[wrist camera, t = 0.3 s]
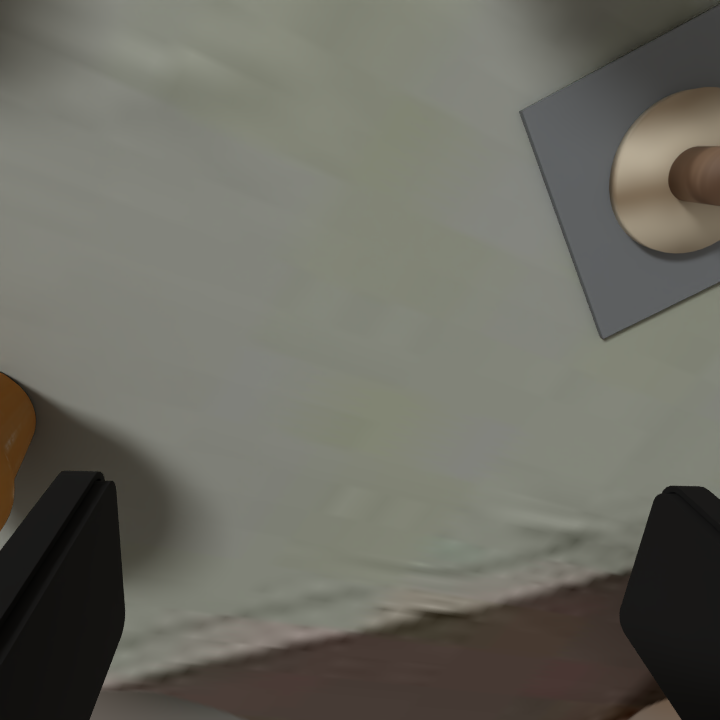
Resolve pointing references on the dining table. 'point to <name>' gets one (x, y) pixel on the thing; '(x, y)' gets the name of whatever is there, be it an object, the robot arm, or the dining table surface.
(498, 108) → the dining table surface
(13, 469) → the flower pot
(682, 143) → the lid
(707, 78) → the mat
